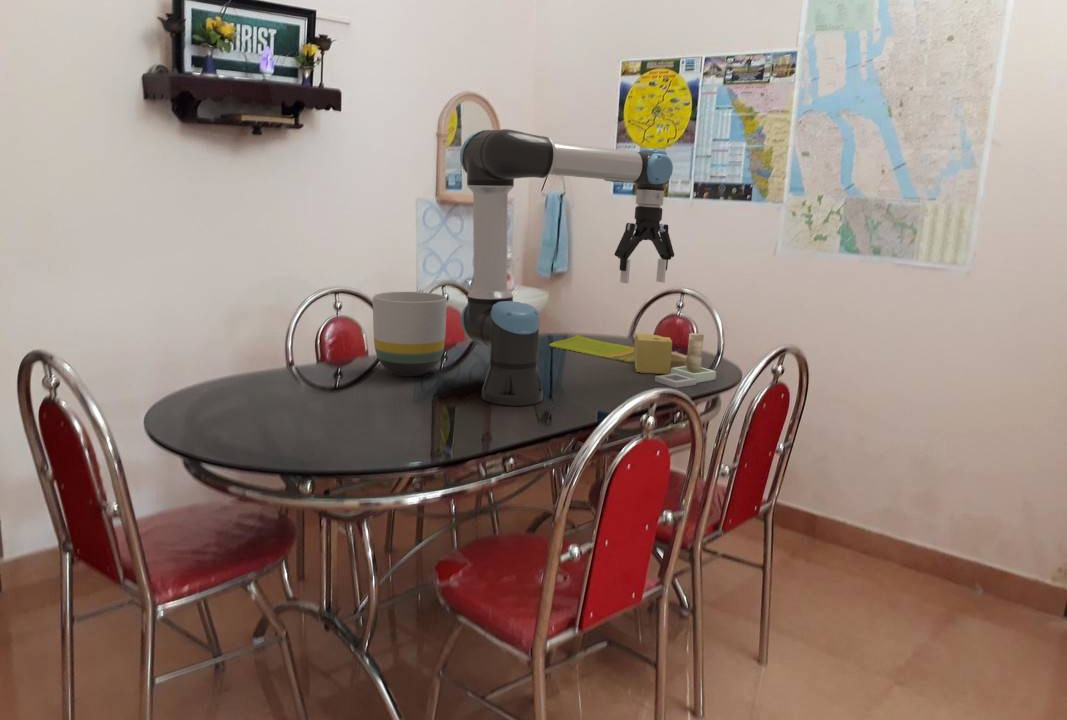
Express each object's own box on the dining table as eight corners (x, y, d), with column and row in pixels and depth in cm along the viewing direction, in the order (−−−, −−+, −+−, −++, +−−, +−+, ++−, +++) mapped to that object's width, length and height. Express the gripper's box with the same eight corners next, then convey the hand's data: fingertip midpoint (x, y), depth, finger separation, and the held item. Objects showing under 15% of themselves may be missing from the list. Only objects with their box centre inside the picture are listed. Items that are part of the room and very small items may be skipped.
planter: (423, 363, 242) (424, 290, 237) (458, 378, 226) (460, 299, 222) (360, 370, 230) (360, 293, 226) (393, 385, 215) (393, 303, 210)
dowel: (682, 374, 239) (686, 333, 236) (693, 373, 241) (697, 333, 238) (692, 378, 235) (695, 336, 233) (702, 377, 237) (706, 335, 235)
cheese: (667, 367, 251) (669, 334, 249) (670, 375, 241) (673, 341, 239) (632, 365, 252) (634, 332, 250) (634, 373, 241) (637, 339, 239)
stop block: (683, 370, 247) (684, 357, 246) (659, 364, 255) (660, 351, 254) (690, 369, 249) (691, 356, 248) (666, 363, 257) (667, 350, 256)
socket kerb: (675, 387, 226) (675, 382, 226) (654, 381, 232) (655, 376, 232) (696, 384, 231) (696, 379, 230) (675, 378, 237) (675, 373, 236)
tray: (693, 383, 232) (694, 374, 231) (670, 376, 239) (670, 367, 239) (715, 379, 237) (716, 371, 237) (692, 373, 244) (692, 364, 244)
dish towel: (639, 367, 252) (640, 357, 251) (547, 348, 274) (548, 338, 273) (666, 360, 263) (667, 350, 263) (576, 342, 286) (576, 333, 285)
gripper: (623, 205, 222) (617, 284, 226) (691, 208, 236) (683, 283, 240) (605, 203, 228) (599, 281, 232) (672, 207, 242) (665, 280, 246)
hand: (642, 282), depth 236 cm, fingers open, 13 cm apart
